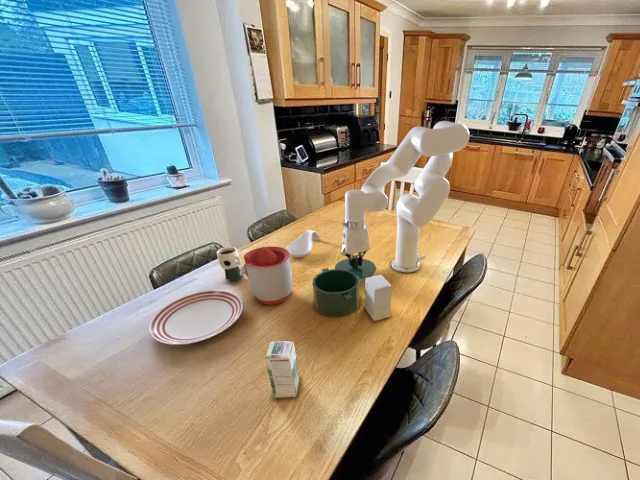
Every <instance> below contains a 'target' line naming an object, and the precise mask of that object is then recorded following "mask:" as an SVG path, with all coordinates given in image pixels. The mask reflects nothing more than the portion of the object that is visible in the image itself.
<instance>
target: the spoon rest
mask: <svg viewBox="0 0 640 480" xmlns="http://www.w3.org/2000/svg"><path fill="white" fill-rule="evenodd" d="M313 240H314V241H320V240H321V237H320V235H319V233H318V232H317V231H316V230H311V229H307V230H305V231H304V232H303V233H302V234H301V235H300V236H298V237H297V238H295V239H294V240H293V241H292V242H290V243H289V244H288V245H287V246H286V248H285V249H286V250H287V251H288V252H289V253H290V256H291V257H294V258H304V257H306V256H309V254H310V253H311V252H312V250H313V245H314V244H313Z"/></svg>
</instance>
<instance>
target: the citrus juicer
mask: <svg viewBox="0 0 640 480" xmlns="http://www.w3.org/2000/svg"><path fill="white" fill-rule="evenodd" d="M290 256H291V255H290V253H289V252H288V251H287V250H286V248H284V247H281V246H272V245H271V246H262V247H257V248H255V249H251V250H249V251H247V252H246V253H245V254H244V255H243V260H244V263H243V265H242V266H241V267H240V275H245V276H246V277H247V282H248V284H249V288H250V290H251V291H252V292H251V293H253V295H254V297H255V298H256V299H257V300H258V301H259V303H261V304H264V305H278V304H280V303H283V302H285V301H287V299H288V300H289V298H290V296H291V293H292V290H293V271H292V266H291V265H292V264H291V259H290Z"/></svg>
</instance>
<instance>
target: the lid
mask: <svg viewBox="0 0 640 480" xmlns="http://www.w3.org/2000/svg"><path fill="white" fill-rule="evenodd" d="M357 255H358V254H357ZM357 255H356V254H353V259H354V268H352V267H351V266H350V265H349V258H348V257H347V258H344V259H342V260H340V261H338V262H337V263H335V266H334V269H342V270H348V271H351V272H353V273H355V274H356V275H357V276H358V277H359V280H365V278H368V277H373V276H374V275H375V273H376V272H377V266H376V264H375V263H374V262H373V261H371V260H369V259H367V258H363V262H362V266H359V256H357Z"/></svg>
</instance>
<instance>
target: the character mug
mask: <svg viewBox="0 0 640 480" xmlns="http://www.w3.org/2000/svg"><path fill="white" fill-rule="evenodd" d="M216 256H217V259H218V262H219V266H220V267H221V268H222V269H224V277H225V282H227V283H228V282H229V283H237V282H239V281H240V280H242V279H243V277H244V276H243V275H240V270H241V267H239V266H240V265H242V260H241V257H240V256H239V252H238V248H237V247H235V246H225V247H222V248H219V249H218V250H217V251H216Z"/></svg>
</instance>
